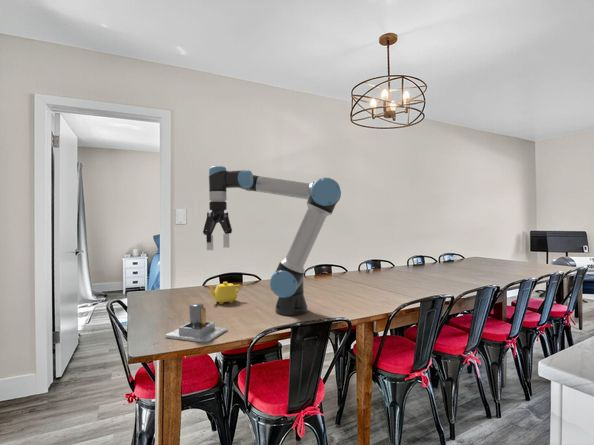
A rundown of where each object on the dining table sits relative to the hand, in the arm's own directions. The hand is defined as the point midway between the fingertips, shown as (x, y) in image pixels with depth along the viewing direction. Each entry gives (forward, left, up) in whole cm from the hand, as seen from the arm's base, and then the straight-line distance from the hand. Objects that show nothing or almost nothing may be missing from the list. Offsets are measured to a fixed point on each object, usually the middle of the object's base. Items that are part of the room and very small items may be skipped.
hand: (218, 248), depth 148 cm
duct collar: (-4, +22, -31) cm, 38 cm away
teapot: (+12, -24, -31) cm, 41 cm away
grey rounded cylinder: (-4, +22, -30) cm, 37 cm away
